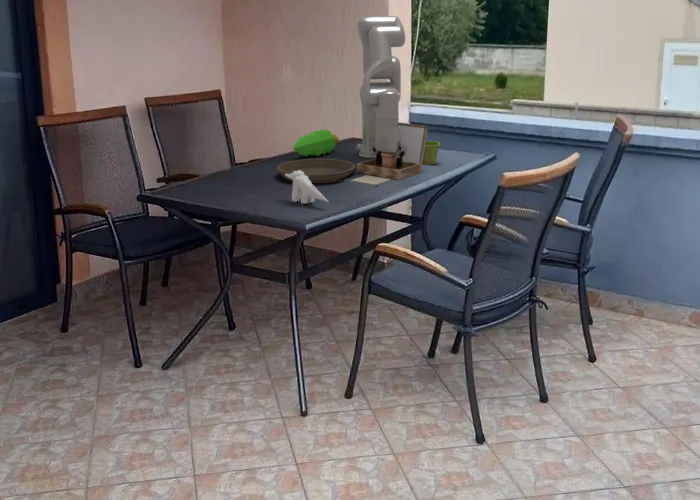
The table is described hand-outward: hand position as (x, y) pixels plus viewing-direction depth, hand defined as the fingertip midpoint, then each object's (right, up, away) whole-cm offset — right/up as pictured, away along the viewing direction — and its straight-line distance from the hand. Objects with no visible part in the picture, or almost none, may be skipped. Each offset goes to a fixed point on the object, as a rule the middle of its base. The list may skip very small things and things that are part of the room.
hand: (389, 165), depth 347 cm
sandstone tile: (-8, -7, -10) cm, 14 cm away
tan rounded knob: (0, -3, +1) cm, 3 cm away
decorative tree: (-32, +8, +38) cm, 50 cm away
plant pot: (+17, +3, +20) cm, 27 cm away
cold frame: (0, -3, +1) cm, 4 cm away
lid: (+6, +10, +5) cm, 13 cm away
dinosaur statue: (-31, -17, -38) cm, 52 cm away
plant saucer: (-29, -4, +2) cm, 29 cm away
